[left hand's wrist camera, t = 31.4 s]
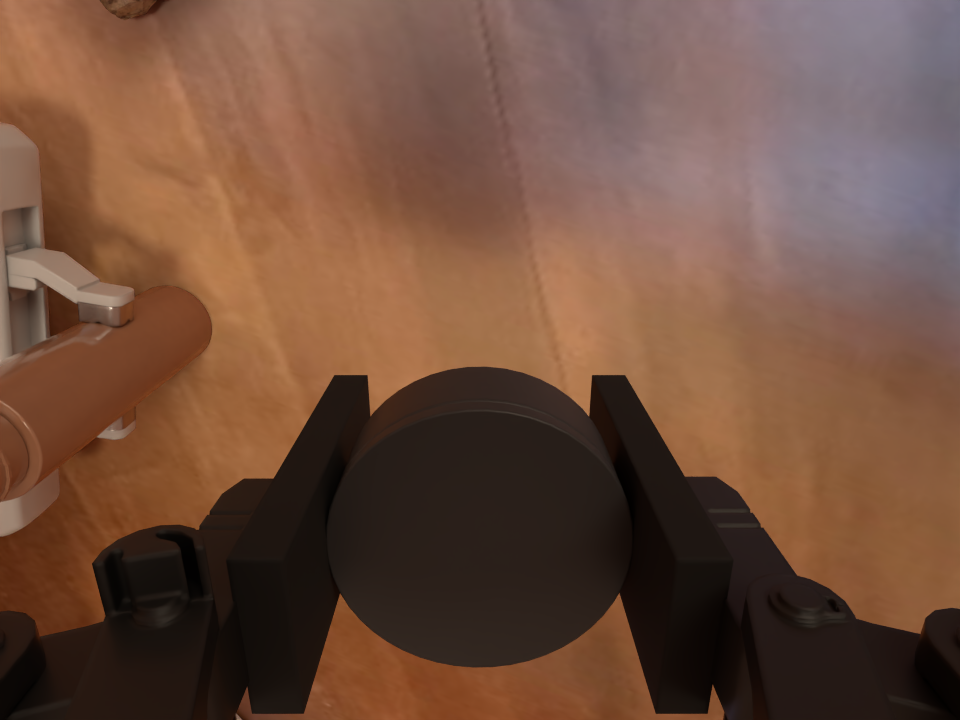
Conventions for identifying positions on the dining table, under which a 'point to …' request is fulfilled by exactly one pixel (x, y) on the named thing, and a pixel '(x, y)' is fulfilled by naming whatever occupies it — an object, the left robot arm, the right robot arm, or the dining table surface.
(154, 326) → the jar
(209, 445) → the dining table surface
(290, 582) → the left robot arm
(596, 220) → the dining table surface
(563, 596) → the lid
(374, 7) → the dining table surface
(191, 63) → the dining table surface
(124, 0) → the rock
